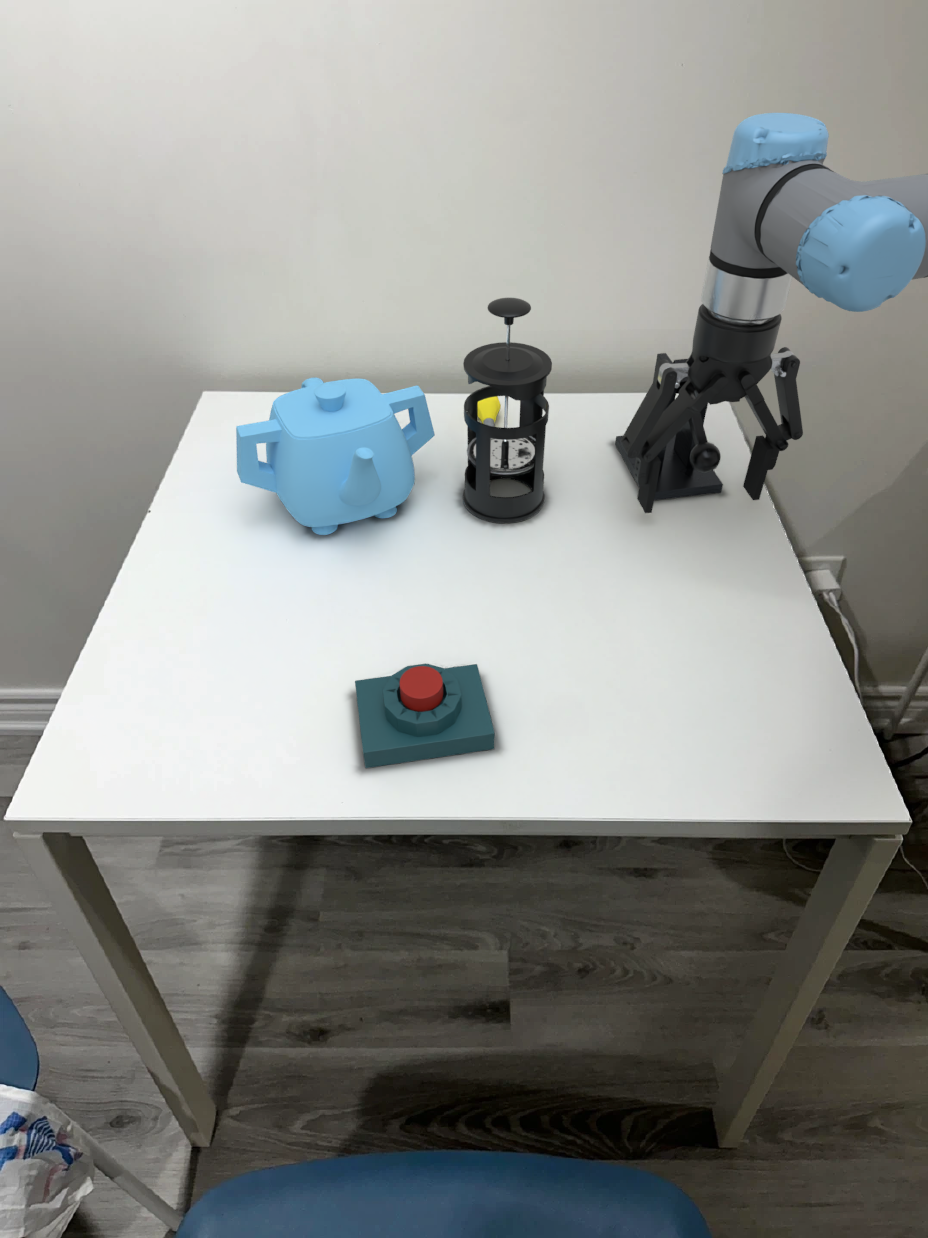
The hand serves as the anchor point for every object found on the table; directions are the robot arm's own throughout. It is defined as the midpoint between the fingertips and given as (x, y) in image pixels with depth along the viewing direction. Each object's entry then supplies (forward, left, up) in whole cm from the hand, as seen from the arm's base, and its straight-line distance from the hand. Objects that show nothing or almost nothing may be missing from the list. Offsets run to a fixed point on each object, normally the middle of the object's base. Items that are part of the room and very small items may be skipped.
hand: (698, 499), depth 94 cm
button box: (-24, +34, -2) cm, 41 cm away
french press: (+7, +20, -2) cm, 21 cm away
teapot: (+8, +38, -2) cm, 39 cm away
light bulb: (+23, +19, -2) cm, 30 cm away
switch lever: (+6, 0, +6) cm, 8 cm away
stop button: (-24, +34, +1) cm, 41 cm away
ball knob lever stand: (+9, 0, -2) cm, 10 cm away
